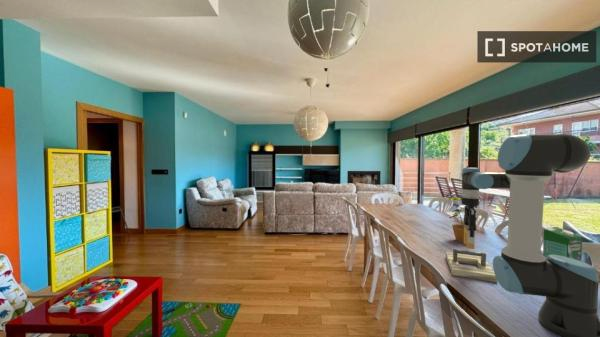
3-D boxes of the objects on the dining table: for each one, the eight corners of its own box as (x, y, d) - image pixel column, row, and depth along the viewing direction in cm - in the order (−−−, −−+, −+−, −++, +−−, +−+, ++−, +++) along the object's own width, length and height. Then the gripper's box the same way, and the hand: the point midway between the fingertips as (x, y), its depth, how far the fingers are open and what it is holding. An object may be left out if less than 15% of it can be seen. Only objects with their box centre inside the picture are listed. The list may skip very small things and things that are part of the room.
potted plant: (440, 238, 183) (441, 197, 182) (460, 236, 188) (461, 196, 187) (463, 246, 166) (464, 200, 165) (484, 243, 171) (485, 199, 170)
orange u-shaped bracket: (474, 249, 126) (474, 231, 126) (467, 248, 127) (467, 230, 127) (470, 243, 135) (470, 227, 134) (463, 242, 136) (464, 226, 135)
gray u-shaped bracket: (485, 271, 127) (486, 254, 127) (453, 266, 133) (453, 249, 133) (484, 270, 129) (485, 252, 129) (452, 265, 135) (453, 248, 134)
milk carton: (566, 290, 109) (568, 233, 108) (542, 280, 118) (543, 227, 117) (580, 287, 111) (582, 231, 111) (555, 278, 120) (557, 226, 119)
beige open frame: (497, 282, 116) (497, 275, 116) (452, 275, 123) (452, 268, 123) (483, 262, 139) (483, 257, 139) (445, 257, 146) (446, 252, 146)
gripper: (484, 201, 118) (483, 248, 119) (474, 195, 138) (473, 235, 139) (465, 200, 122) (464, 245, 122) (458, 194, 142) (457, 233, 142)
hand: (469, 240), depth 131 cm, fingers closed on orange u-shaped bracket, 9 cm apart
